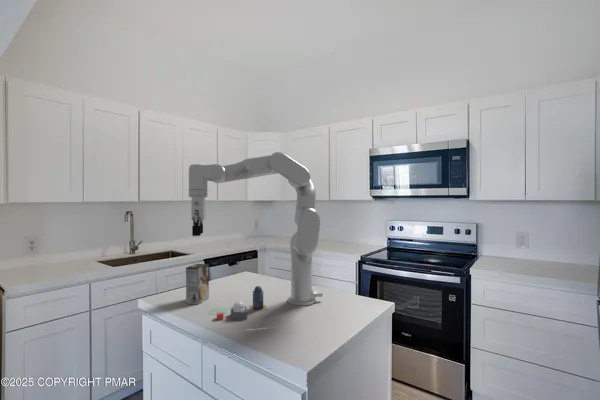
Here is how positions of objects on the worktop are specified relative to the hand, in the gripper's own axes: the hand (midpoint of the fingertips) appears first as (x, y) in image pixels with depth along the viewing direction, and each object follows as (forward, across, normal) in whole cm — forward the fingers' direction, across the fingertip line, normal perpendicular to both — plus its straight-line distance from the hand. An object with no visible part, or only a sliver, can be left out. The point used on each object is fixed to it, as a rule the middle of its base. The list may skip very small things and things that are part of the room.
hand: (197, 234), depth 128 cm
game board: (+31, -10, -17) cm, 37 cm away
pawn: (+31, -6, -25) cm, 40 cm away
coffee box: (+31, +10, +1) cm, 33 cm away
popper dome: (+31, -14, -17) cm, 38 cm away
